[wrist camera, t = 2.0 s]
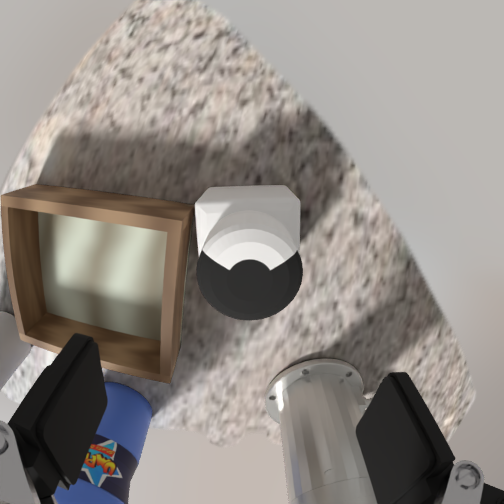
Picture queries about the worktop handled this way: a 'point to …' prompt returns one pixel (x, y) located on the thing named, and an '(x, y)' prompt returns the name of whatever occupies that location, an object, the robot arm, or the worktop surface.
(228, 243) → the medicine bottle
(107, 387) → the water bottle
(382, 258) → the worktop surface
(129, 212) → the crate
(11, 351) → the can
